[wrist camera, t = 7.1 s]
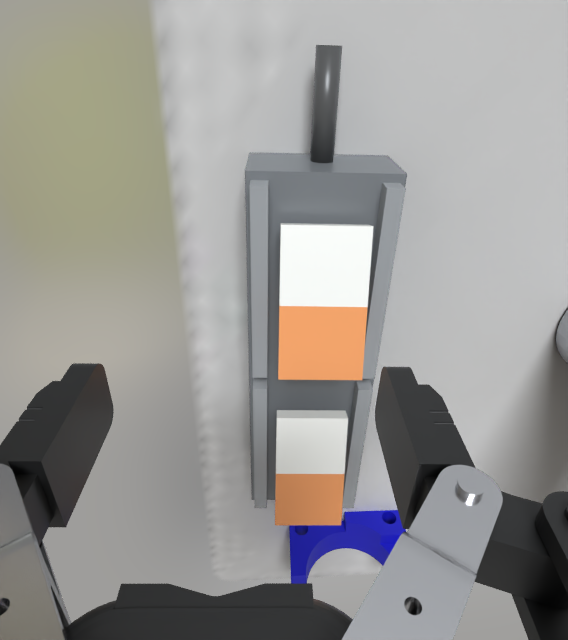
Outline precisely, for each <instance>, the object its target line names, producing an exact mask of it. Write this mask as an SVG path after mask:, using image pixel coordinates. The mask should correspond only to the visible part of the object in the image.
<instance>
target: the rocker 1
mask: <svg viewBox="0 0 568 640" xmlns="http://www.w3.org/2000/svg"><path fill="white" fill-rule="evenodd" d="M372 239H373V226H371V225H355V224H299V223H281V225H280V286H279V347H278V380H362V376H363V362H364V349H365V335H366V321H367V308H368V294H369V280H370V267H371V253H372Z"/></svg>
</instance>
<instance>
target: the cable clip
mask: <svg viewBox="0 0 568 640" xmlns="http://www.w3.org/2000/svg"><path fill="white" fill-rule="evenodd" d="M404 531H405V532H406V530H405V529H403V528H402V524H401V520H400V516H399V512H398V510H390V511H359V512H345V515H344V521H341V525H290V560H291V584H307V578H308V575H309V572H310V570H311V568H312V566H313V565H314V563H315V562H316V561H317V560H318V559H319V558H320V557H321V556H323V555H324V554H326V553H328V552H330V551H332V550H335V549H340V548H352V549H357V550H360V551H363V552H365V553H367V554H369V555H371V556H372V557H374V558H375V559H376V560H378V561H379V562H380V563H381V564H382V565H384V564H385V562H386V560H387V558H388V556H389V555H390V553H391V551H392V549H393V548H394V546H395V544H396V542H397V540H398V539H399V537H400V536H401V534H402V533H403V532H404Z"/></svg>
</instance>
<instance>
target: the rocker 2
mask: <svg viewBox="0 0 568 640" xmlns="http://www.w3.org/2000/svg"><path fill="white" fill-rule="evenodd" d="M347 428H348V417H347V414H346V411H345V410H277V426H276V489H275V525H341V519H342V504H343V489H344V474H345V458H346V443H347Z"/></svg>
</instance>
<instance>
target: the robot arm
mask: <svg viewBox="0 0 568 640" xmlns="http://www.w3.org/2000/svg"><path fill="white" fill-rule="evenodd" d="M556 343H557V349H558V351H559V353H560V355H561V357H562V358H563V359H564V360H565V361H566V362H567V363H568V310H567V311H566V313H565V314H564V316H563V318H562V319H561V321H560V324H559V327H558V330H557V336H556ZM112 418H113V403H112V399H111V395H110V391H109V386H108V382H107V378H106V374H105V370H104V367H103V365H102V364H72V365H71V366H70V367H69V369H68V370H67V372H66V374H65V375H64V377H63V378H62V380H61V381H52V382H51V383H50V384H49V385H47V386H46V387H44V388H43V389H42V390H40V391H39V392H38V393H37V394H36V395H35V397H34V398H33V399H32V401H31V402H30V404H29V405H28V406H27V410H25V411H24V412H23V414H22V415H21V416H20V418H19V422H16V424H15V425H14V426H13V428H12V429H11V431H10V432H9V433H8V435H7V436H6V438H5V439H4V441H3V442H2V443H1V445H0V640H453V638H454V636H455V633H456V630H457V627H458V625H459V622H460V619H461V617H462V614H463V611H464V609H465V606H466V603H467V601H468V598H469V595H470V592H471V590H472V587H473V584H474V582H477V583H480V584H483V585H487V586H490V587H493V588H496V589H499V590H502V591H505V592H508V593H511V594H512V596H513V599H514V602H515V604H516V607H517V610H518V612H519V615H520V618H521V620H522V623H523V626H524V628H525V631H526V633H527V636H528V639H529V640H568V492H554V493H551V494H549V495H548V496H547V497H546V498H545V500H544V502H543V504H542V503H538V502H535V501H531V500H527V499H523V498H520V497H516V496H513V495H510V494H507V493H504V492H502V491H501V490H500V488H499V487H498V485H497V484H496V482H495V481H494V480H493V479H492V478H491V477H489V476H488V475H487V474H485V473H484V472H482V471H480V470H479V469H476V468H475V466H474V464H473V462H472V460H471V457H470V455H469V453H468V451H467V449H466V447H465V445H464V443H463V441H462V438H461V436H460V434H459V432H458V430H457V428H456V426H455V425H454V422H453V420H452V417H451V415H450V413H448V409H447V407H446V405H445V403H444V401H443V398H442V397H441V396H440V395H439V394H438V393H437V392H436V391H435V390H434V389H433V388H432V387H431V386H430V385H418V384H417V381H416V379H415V376H414V374H413V372H412V369H411V368H410V367H383V369H382V372H381V377H380V383H379V389H378V395H377V402H376V408H375V421H376V428H377V432H378V436H379V440H380V444H381V447H382V451H383V455H384V459H385V463H386V467H387V470H388V474H389V478H390V482H391V486H392V489H393V493H394V497H395V501H396V505H397V509H398V512H399V516H400V520H401V524H402V528H403V529H409V530H408V532H405V531H404V532H403V533H402V534H401V536H400V537H399V539H398V540H397V542H396V544H395V546H394V548H393V549H392V551H391V553H390V555H389V556H388V558H387V560H386V562H385V564H384V565H383V567H382V569H381V571H380V572H379V574H378V576H377V578H376V580H375V581H374V583H373V585H372V587H371V589H370V590H369V592H368V594H367V596H366V597H365V599H364V601H363V603H362V605H361V606H360V608H359V610H358V612H357V613H356V615H355V617H354V619H351V618H350V617H349V616H347V615H346V614H345V613H344V612H342V611H340V610H338V609H337V608H335V607H334V606H331V605H329V604H327V603H325V602H322V601H319V600H316V599H313V592H312V591H313V590H312V584H262V585H259V586H255V587H251V588H248V589H244V590H240V591H237V592H233V593H230V594H226V595H222V596H218V597H217V596H209V595H206V594H202V593H199V592H195V591H192V590H188V589H185V588H181V587H178V586H174V585H171V584H121V586H120V590H119V593H118V597H117V600H116V601H113V602H109V603H107V604H104V605H102V606H99V607H97V608H95V609H93V610H91V611H89V612H88V613H86V614H84V615H83V616H82V617H80V618H78V619H77V620H75V621H74V622H72V623H71V620H70V617H69V615H68V612H67V610H66V607H65V604H64V601H63V598H62V595H61V593H60V589H59V586H58V584H57V581H56V578H55V575H54V572H53V569H52V566H51V563H50V560H49V557H48V554H47V551H46V548H45V546H44V543H43V541H42V539H43V538H44V535H45V533H46V531H47V529H48V527H66V525H67V523H68V521H69V519H70V516H71V514H72V512H73V510H74V508H75V505H76V503H77V501H78V498H79V496H80V494H81V492H82V489H83V487H84V485H85V483H86V481H87V478H88V476H89V474H90V472H91V469H92V467H93V465H94V463H95V460H96V458H97V456H98V453H99V451H100V449H101V447H102V445H103V442H104V440H105V438H106V436H107V433H108V431H109V429H110V426H111V424H112Z"/></svg>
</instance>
